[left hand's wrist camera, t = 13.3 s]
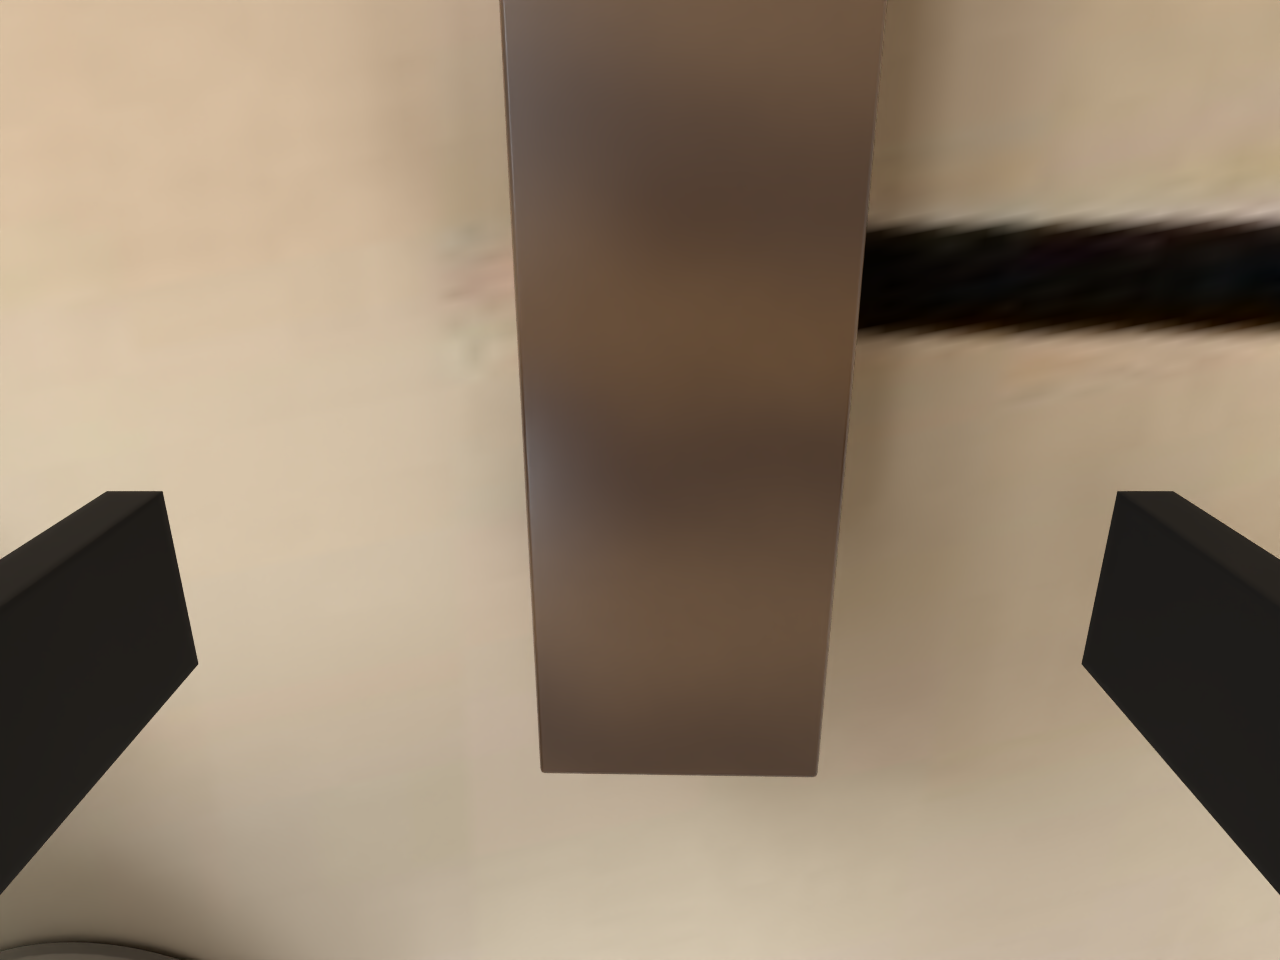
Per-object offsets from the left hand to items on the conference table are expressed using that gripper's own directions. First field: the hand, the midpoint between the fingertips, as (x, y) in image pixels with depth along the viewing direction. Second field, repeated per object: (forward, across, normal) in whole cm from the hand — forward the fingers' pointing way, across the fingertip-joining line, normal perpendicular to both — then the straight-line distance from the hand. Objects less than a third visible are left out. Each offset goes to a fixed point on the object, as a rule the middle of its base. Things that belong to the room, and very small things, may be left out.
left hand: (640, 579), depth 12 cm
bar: (+9, -1, -22) cm, 24 cm away
